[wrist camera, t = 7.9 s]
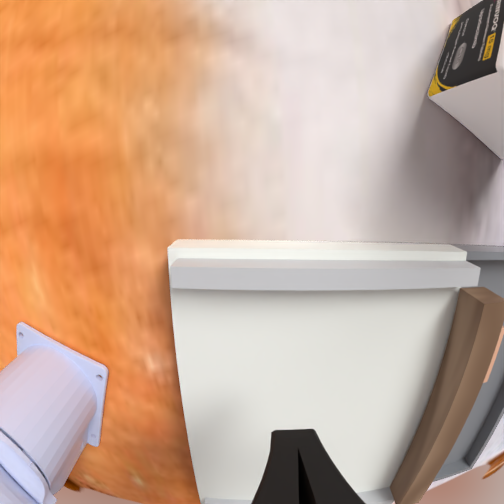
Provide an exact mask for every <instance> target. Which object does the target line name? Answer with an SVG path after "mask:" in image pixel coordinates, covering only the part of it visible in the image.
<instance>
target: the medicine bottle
mask: <svg viewBox="0 0 504 504" xmlns="http://www.w3.org/2000/svg"><path fill="white" fill-rule="evenodd" d="M427 95H428V97H429V98H430V99H431V100H432V101H433V102H435V103H436V104H437V105H439V106H440V107H441V108H443V109H444V110H445V111H446V112H448V113H449V114H450V115H451V116H453V117H454V118H455V119H456V120H458V121H459V122H460V123H461V124H462V125H464V126H465V127H466V128H467V129H468V130H469V131H471V132H472V133H473V134H474V135H475V136H476V137H477V138H479V139H480V140H481V141H482V142H483V143H484V144H485V145H486V146H487V147H488V148H489V149H491V150H492V151H493V152H494V153H495V154H496V155H497V156H498V157H499V158H500V159H502V160H504V0H483V1H481V2H479V3H478V4H476V5H475V6H473V7H472V8H470V9H469V10H467V11H466V12H464V13H463V14H461V15H460V16H459V17H457V18H456V19H454V20H453V21H452V24H451V27H450V30H449V33H448V36H447V39H446V42H445V45H444V48H443V51H442V54H441V57H440V60H439V63H438V66H437V68H436V71H435V74H434V77H433V79H432V82H431V85H430V87H429V90H428V94H427Z"/></svg>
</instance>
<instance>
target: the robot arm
mask: <svg viewBox="0 0 504 504" xmlns="http://www.w3.org/2000/svg"><path fill="white" fill-rule="evenodd" d="M22 334H23V335H22ZM108 374H109V371H108V369H107V367H106V366H104V365H103V364H101V363H99V362H96V361H94V360H92V359H90V358H88V357H86V356H84V355H82V354H80V353H78V352H76V351H74V350H72V349H70V348H68V347H66V346H64V345H63V344H61V343H59V342H57V341H55V340H53V339H51V338H50V337H48V336H46V335H44V334H42V333H41V332H39V331H37V330H35V329H34V328H32V327H30V326H29V325H27V324H25V323H24V322H20V323H18V324H17V357H16V358H15V359H14V360H13V361H12V362H10V363H9V364H8V365H7V366H6V367H5V368H4V369H3V370H2V371H1V372H0V504H55V503H56V501H57V499H56V498H55V497H54V496H53V495H54V494H55V493H57V492H58V491H59V490H60V489H61V488H62V487H63V485H64V484H65V482H66V480H67V478H68V476H69V475H70V473H71V471H72V469H73V467H74V465H75V464H76V462H77V460H78V458H79V456H80V455H81V453H82V451H83V449H84V447H85V446H86V444H87V443H88V444H90V445H92V446H96V447H97V446H99V444H100V437H101V427H102V418H103V410H104V402H105V394H106V387H107V380H108ZM99 375H101V376H102V377H100V376H99ZM251 504H366V503H365V502H364V501H363V500H362V499H361V498H360V497H359V496H358V495H357V493H356V492H355V491H354V490H353V489H352V487H351V486H350V485H349V484H348V482H347V481H346V480H345V478H344V477H343V476H342V474H341V473H340V471H339V470H338V468H337V467H336V466H335V464H334V463H333V461H332V460H331V458H330V456H329V455H328V453H327V451H326V450H325V448H324V446H323V444H322V443H321V441H320V439H319V437H318V435H317V433H316V431H315V430H314V429H294V430H274V431H273V432H271V443H270V452H269V456H268V461H267V464H266V467H265V470H264V473H263V476H262V479H261V482H260V484H259V487H258V489H257V491H256V494H255V496H254V498H253V501H252V503H251Z"/></svg>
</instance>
